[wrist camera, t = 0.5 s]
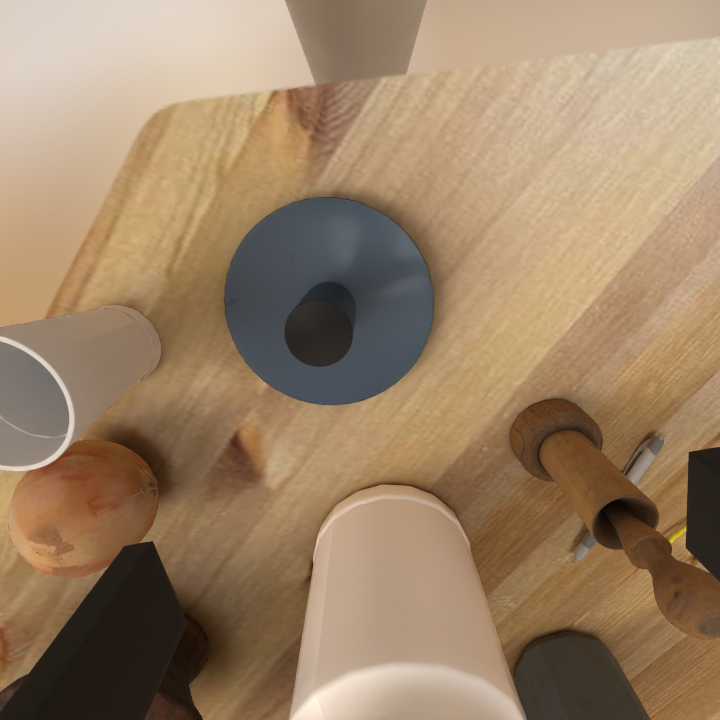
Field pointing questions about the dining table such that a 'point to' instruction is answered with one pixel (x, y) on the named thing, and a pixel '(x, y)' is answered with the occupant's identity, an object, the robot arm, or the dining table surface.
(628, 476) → the pen
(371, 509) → the bottle
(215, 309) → the dining table surface
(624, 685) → the bottle
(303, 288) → the lid
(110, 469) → the onion
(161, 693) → the jug
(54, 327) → the cup
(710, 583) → the mortar and pestle
